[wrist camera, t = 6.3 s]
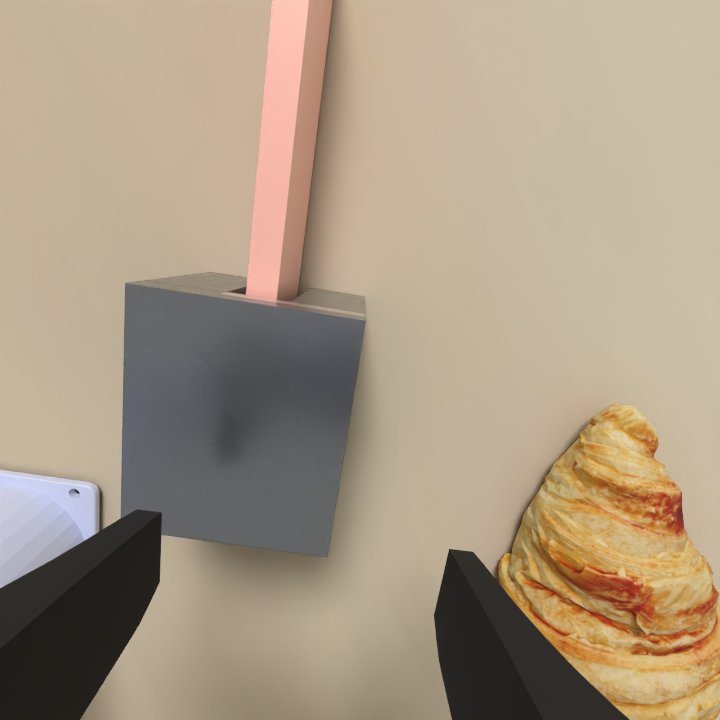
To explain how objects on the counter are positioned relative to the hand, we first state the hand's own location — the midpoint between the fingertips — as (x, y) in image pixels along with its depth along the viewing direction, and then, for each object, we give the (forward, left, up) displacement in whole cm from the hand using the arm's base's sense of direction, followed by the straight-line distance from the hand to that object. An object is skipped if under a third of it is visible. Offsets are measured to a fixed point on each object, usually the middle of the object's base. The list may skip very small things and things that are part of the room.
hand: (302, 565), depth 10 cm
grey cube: (-3, +2, -10) cm, 10 cm away
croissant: (+15, -7, -10) cm, 19 cm away
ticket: (-3, +12, -10) cm, 16 cm away
